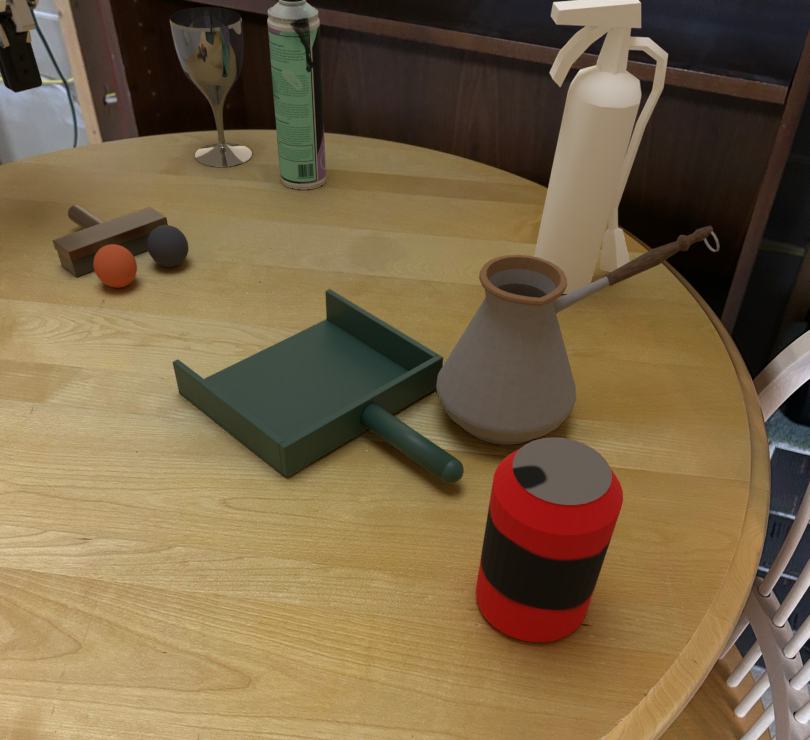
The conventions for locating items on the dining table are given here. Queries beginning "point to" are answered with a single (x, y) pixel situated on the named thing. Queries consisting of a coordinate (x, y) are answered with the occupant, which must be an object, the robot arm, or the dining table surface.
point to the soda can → (546, 538)
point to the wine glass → (212, 69)
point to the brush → (104, 236)
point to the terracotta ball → (115, 266)
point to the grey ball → (167, 246)
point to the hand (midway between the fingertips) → (24, 86)
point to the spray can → (297, 93)
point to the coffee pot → (525, 346)
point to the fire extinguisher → (595, 139)
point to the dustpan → (325, 392)
